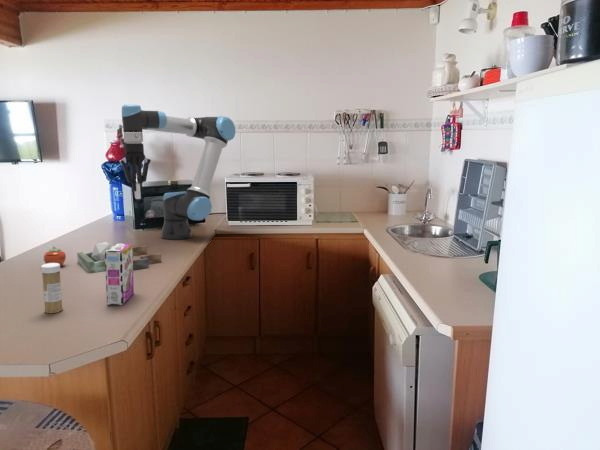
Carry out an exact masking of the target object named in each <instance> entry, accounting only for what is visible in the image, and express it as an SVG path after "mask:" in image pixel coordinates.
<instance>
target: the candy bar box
mask: <svg viewBox="0 0 600 450" xmlns="http://www.w3.org/2000/svg"><path fill="white" fill-rule="evenodd" d="M112 246H113V247H111V248H109V249H108V250H106V251H105V266H106V271H105V285H106V291H105V292H106V306H124V305H125V303H127V301H128V300H129V299H130V298H131V297H132V296H133V295H134V293H135V291H134V290H135V289H134V288H135V287H134V285H135V284H134V270H133V260H134V258H133V257H134V256H133V248H132V247H133V243H116V244H114V245H112Z"/></svg>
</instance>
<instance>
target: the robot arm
mask: <svg viewBox="0 0 600 450" xmlns="http://www.w3.org/2000/svg"><path fill="white" fill-rule="evenodd" d="M121 122H122V129H123V130H122V132H123V142H124V156H123V158H122V159H120V160H118V163H119V164H120V165H121V167H122V169H123V173H124V177H125V179H126V182H127V183H129V184H131V189H132V191H133V192H134V198H135V199H136V200H141V199H142V195H141V191H143V183H144V182H146V181H147V178H148V171H149V167H150V164H151V162H152V160H151V159H150V158H147V157H146V155H145V150H144V149H145V147H144V143H143V142H144V135H143V130H145V131H146V130H147V131H152V132H153V131H154V132H156V131H157V132H162V133H172V134H181V135H186V136H187V137H189V138H197V139H202V140H204V142H205V145H204V146H203V150H202V153H201V157H200V159H199V163H198V165H197V169H196V171H195V175H194V177H193V180H192V183H191V186H190V187H189V188H187V189H186V191H173V192H165V193H164V194H163V200H162V203H163V219H164V220H163V221H164V222H163V226H162V229H161V231H160V238H162V239H165V240H185V239H190V238H192V236H193V235H192V229H191V227H190V224H189V220H191V221H202V220H204V219H207V218H208V217H209V215H210V214H211V212H212V207H213V206H212V201H211V200H210V198H211V195H210V194H209V191H210V188H211V185H212V182H213V178H214V176H215V172H216V169H217V167H218V166H217V165H218V163H219V160H220V157H221V154H222V151H223V149H225V148H226V147H227V145H228V142H229V141H231V140H233V139H234V138H235V136H236V126H235V123H234V121H233V120H232V119H231V118H230V117H228V116H222V115H221V116H205V117H192V116H191V117H187V118H184V117H175V116H169V115H166V113H165V112H164V111H160V110H142V108H141V105H140V104H123V105H122V106H121ZM127 163H128V165H129V168H130V170H129V168H128V165H127ZM142 164H143V165H142ZM142 167H143V168H142Z"/></svg>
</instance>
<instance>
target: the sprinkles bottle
mask: <svg viewBox="0 0 600 450" xmlns="http://www.w3.org/2000/svg"><path fill="white" fill-rule="evenodd" d="M40 270H41V274H42V289H43V300H44V312H45V313H47V314H57V313H60V312H61V311H63V310H64V307H63V294H62V293H63V292H62V281H61V267H60V264H58V263H47V264H46V263H43V264H42V265H41V266H40Z"/></svg>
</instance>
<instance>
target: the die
mask: <svg viewBox="0 0 600 450" xmlns="http://www.w3.org/2000/svg"><path fill="white" fill-rule="evenodd" d="M113 246H114V245H111V244H110V243H109V242H107V241H104V242H100V243H96V244H95V245H94V248H93V251H92V252H93V253H92V256H91V257H92V258H94V259H95V260H97V261H96V262H99V261H105V251H106V250H108V249H109V248H111V247H113Z"/></svg>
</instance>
